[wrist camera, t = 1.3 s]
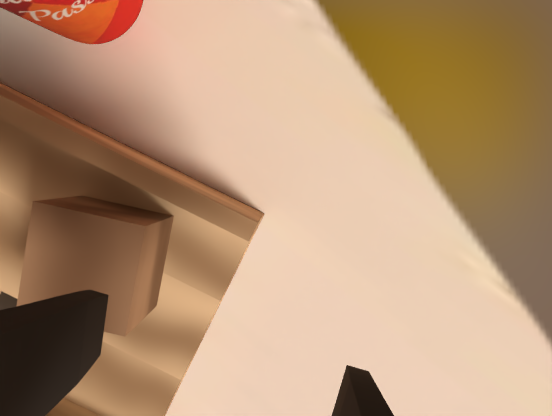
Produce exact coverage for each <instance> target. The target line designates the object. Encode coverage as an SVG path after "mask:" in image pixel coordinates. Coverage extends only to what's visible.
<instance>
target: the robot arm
mask: <svg viewBox="0 0 552 416" xmlns="http://www.w3.org/2000/svg"><path fill="white" fill-rule="evenodd" d="M108 296H109V295H107V294H104V293H100V292H97V291H94V290H83V291H78V292H73V293H69V294H65V295H60V296H56V297H52V298H48V299H44V300H40V301H36V302H32V303H28V304H24V305H20V306H16V307H12V308H7V309H3V310H0V416H46V415H47V414H48V413H49V412H50V411H51V410H52V409H53V408H54V407H55V406H56V405H57V404H58V403H59V402H60V401H61V400H62V399H63V398H64V397H65V396H66V395H67V394H68V393H69V392H70V391H71V390H72V389H73V388H74V387H75V386H76V385H77V384H78V383H79V382H80V381H81V379H82V378H83V377H84V376H85V374H86V373H87V372H88V371H89V369H90V368H91V367H92V366H93V364H94V363H95V362H96V360H97V359H98V358H99V356H100V355H101V348H102V341H103V334H104V326H105V319H106V311H107V304H108ZM332 416H394V415H393V413H392V411H391V410H390V408H389V406H388V405H387V403H386V401H385V399H384V398H383V396H382V394H381V392H380V391H379V389H378V387H377V385H376V383H375V382H374V380H373V378H372V376H371V375H370V373H369V371H365V370H362V369H359V368H355V367H352V366H348V365H347V366H346V370H345V373H344V377H343V380H342V383H341V387H340V390H339V393H338V397H337V400H336V403H335V407H334V410H333V413H332Z"/></svg>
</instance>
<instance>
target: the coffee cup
mask: <svg viewBox="0 0 552 416" xmlns="http://www.w3.org/2000/svg"><path fill="white" fill-rule="evenodd" d="M142 4H143V0H0V7H1V8H3V9H5V10H8V11H10V12H12V13H14V14H16V15H18V16H20V17H22V18H25V19H27V20H29V21H31V22H33V23H35V24H37V25H40V26H42V27H44V28H46V29H48V30H50V31H53V32H55V33H57V34H59V35H62V36H64V37H66V38H69V39H72V40H74V41H77V42H81V43H86V44H101V43H106V42H109V41H112V40H114V39H116V38H118V37H120V36H121V35H123V34H124V33H125V32H126V31H127V30H128V29H129V28H130V27H131V26H132V25H133V23H134V22H135V20H136V19H137V17H138V15H139V13H140V10H141V7H142Z"/></svg>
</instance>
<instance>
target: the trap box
mask: <svg viewBox="0 0 552 416" xmlns="http://www.w3.org/2000/svg"><path fill="white" fill-rule="evenodd" d="M74 196H87V197H91V198H96V199H100V200H105V201H109V202H114V203H118V204H123V205H127V206H132V207H136V208H141V209H145V210H150V211H154V212H159V213H163V214H168V215H172V216H174V218H173V224H172V229H171V234H170V239H169V245H168V250H167V255H166V260H165V265H164V271H163V276H162V281H161V286H160V291H159V297H158V302H157V306H156V307H155V308H154V309H153V310H152V311H151V312H150V313H149V314H148V315H147V316H146V317H145V318H144V319H143V320H142V321H141V322H140V323H139V324H138V325H137V326H136V327H135V328H134V329H133V330H132V331H130V332H129V333H128V334H127V335H126V336H125V337H124V336H120V335H116V334H111V333H107V332H104V334H103V341H102V348H101V355H100V356H99V358H98V359H97V360H96V362H95V363H94V364H93V366H92V367H91V368H90V369H89V371H88V372H87V373H86V374H85V376H84V377H83V378H82V379H81V381H80V382H79V383H78V384H77V385H76V386H75V387H74V388H73V389H72V390H71V391H70V392H69V393H68V394H67V395H66V396H65V397H64V398H63V399H62V400H61V401H60V402H59V403H58V404H57V405H56V406H55V407H54V408H53V409H52V410H51V411H50V412H49V413H48V414H47V415H46V416H165V414H166V412H167V410H168V408H169V406H170V404H171V402H172V400H173V398H174V396H175V394H176V392H177V390H178V388H179V386H180V384H181V382H182V380H183V378H184V376H185V374H186V372H187V370H188V368H189V366H190V364H191V362H192V360H193V358H194V356H195V353H196V351H197V349H198V347H199V345H200V343H201V341H202V339H203V337H204V335H205V333H206V331H207V329H208V327H209V325H210V323H211V321H212V319H213V317H214V315H215V313H216V311H217V309H218V307H219V305H220V303H221V301H222V299H223V297H224V295H225V293H226V291H227V289H228V287H229V285H230V283H231V280H232V278H233V276H234V274H235V272H236V270H237V268H238V266H239V264H240V262H241V260H242V258H243V256H244V254H245V252H246V250H247V248H248V246H249V244H250V242H251V240H252V238H253V236H254V234H255V232H256V230H257V228H258V226H259V224H260V222H261V220H262V218H263V216H264V213H262V212H260V211H258V210H256V209H254V208H252V207H250V206H248V205H245V204H243V203H241V202H239V201H237V200H235V199H233V198H231V197H229V196H227V195H225V194H223V193H221V192H219V191H217V190H215V189H213V188H211V187H209V186H207V185H205V184H203V183H201V182H199V181H197V180H195V179H193V178H191V177H189V176H187V175H185V174H183V173H181V172H179V171H177V170H175V169H173V168H171V167H169V166H167V165H165V164H163V163H161V162H159V161H157V160H155V159H153V158H151V157H149V156H147V155H145V154H143V153H141V152H139V151H137V150H135V149H133V148H131V147H129V146H126V145H124V144H122V143H120V142H118V141H116V140H114V139H112V138H110V137H108V136H106V135H104V134H102V133H100V132H98V131H96V130H94V129H92V128H90V127H88V126H86V125H84V124H82V123H80V122H78V121H76V120H74V119H72V118H70V117H68V116H66V115H64V114H62V113H60V112H58V111H56V110H54V109H52V108H50V107H48V106H46V105H44V104H42V103H40V102H38V101H36V100H34V99H32V98H30V97H28V96H26V95H24V94H22V93H20V92H18V91H16V90H14V89H12V88H10V87H8V86H5V85H3V84H1V83H0V310H3V309H7V308H12V307H16V306H17V300H18V294H19V287H20V281H21V274H22V268H23V261H24V255H25V248H26V242H27V235H28V229H29V223H30V216H31V210H32V203H33V201H39V200H47V199H56V198H65V197H74Z"/></svg>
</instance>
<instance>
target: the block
mask: <svg viewBox="0 0 552 416" xmlns="http://www.w3.org/2000/svg"><path fill="white" fill-rule="evenodd" d="M173 218H174V216H172V215H168V214H163V213H159V212H154V211H150V210H145V209H141V208H136V207H132V206H127V205H123V204H118V203H114V202H109V201H105V200H100V199H96V198H91V197H87V196H74V197H65V198H56V199H47V200H39V201H33V203H32V210H31V216H30V223H29V229H28V235H27V242H26V248H25V255H24V261H23V268H22V274H21V281H20V287H19V294H18V300H17V306H20V305H24V304H28V303H32V302H36V301H40V300H44V299H48V298H52V297H56V296H60V295H65V294H69V293H73V292H78V291H83V290H94V291H97V292H100V293H104V294H107V295H109V296H108V304H107V311H106V319H105V326H104V332H107V333H111V334H116V335H120V336H124V337H125V336H126V335H127V334H128V333H129V332H130V331H132V330H133V329H134V328H135V327H136V326H137V325H138V324H139V323H140V322H141V321H142V320H143V319H144V318H145V317H146V316H147V315H148V314H149V313H150V312H151V311H152V310H153V309H154V308H155V307H156V306H157V302H158V297H159V291H160V286H161V281H162V276H163V271H164V265H165V260H166V255H167V250H168V245H169V239H170V234H171V229H172V224H173Z"/></svg>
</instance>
